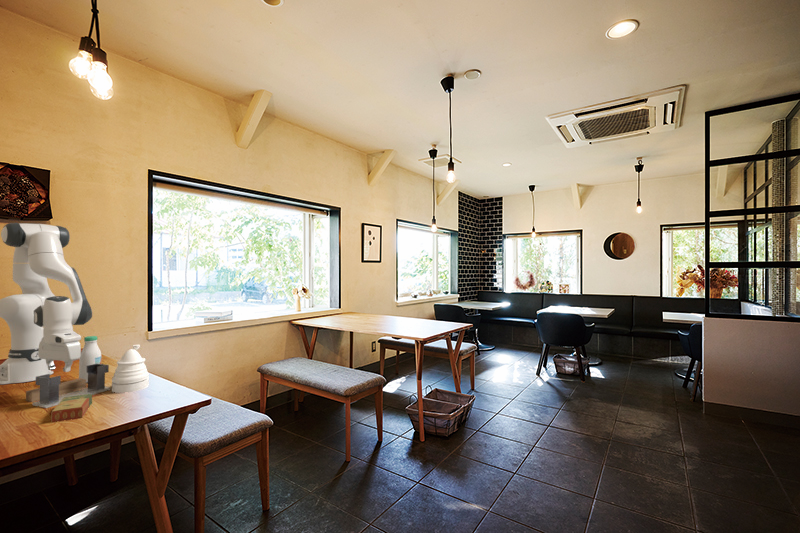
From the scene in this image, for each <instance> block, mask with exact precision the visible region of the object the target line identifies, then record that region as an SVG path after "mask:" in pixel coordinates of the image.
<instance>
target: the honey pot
mask: <svg viewBox="0 0 800 533" xmlns="http://www.w3.org/2000/svg"><path fill="white" fill-rule="evenodd" d="M140 348H141V344H133V345H132V348H130V349H128V350H127V351H125V352H124V354H123V355H122V357H121V358H120V359H119V360H118V361H117V362H116V365H117V366H116V368H115V372H114V373H113V376H112V378H111V392H112V393H114V392H115V393H114V394H125V392H128V393H134V392H137V391H138V390H139V391H142V390H144V389H147V388H149V384H150V382H149V381H150V378H149V376H150V374H149V371H148V369H147V365H146V364H145V362H146V358H145V357H142V355H141V354H140V353H139V351H137V350H139V349H140ZM133 391H134V392H133Z"/></svg>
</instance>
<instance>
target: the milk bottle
mask: <svg viewBox="0 0 800 533" xmlns="http://www.w3.org/2000/svg"><path fill="white" fill-rule="evenodd" d="M83 340H84V345H83V348H82V349H81V355H80V358H79V359H78V361H79V362H78V367H79V368H78V379H79V378H82V379H86V384H88V373H87V365H92V364H96V363H98V364H102V352H101V349H100V347H99V345H98V336H96V335H91V336H90V335H89V336H85V337H84V338H83Z"/></svg>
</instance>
